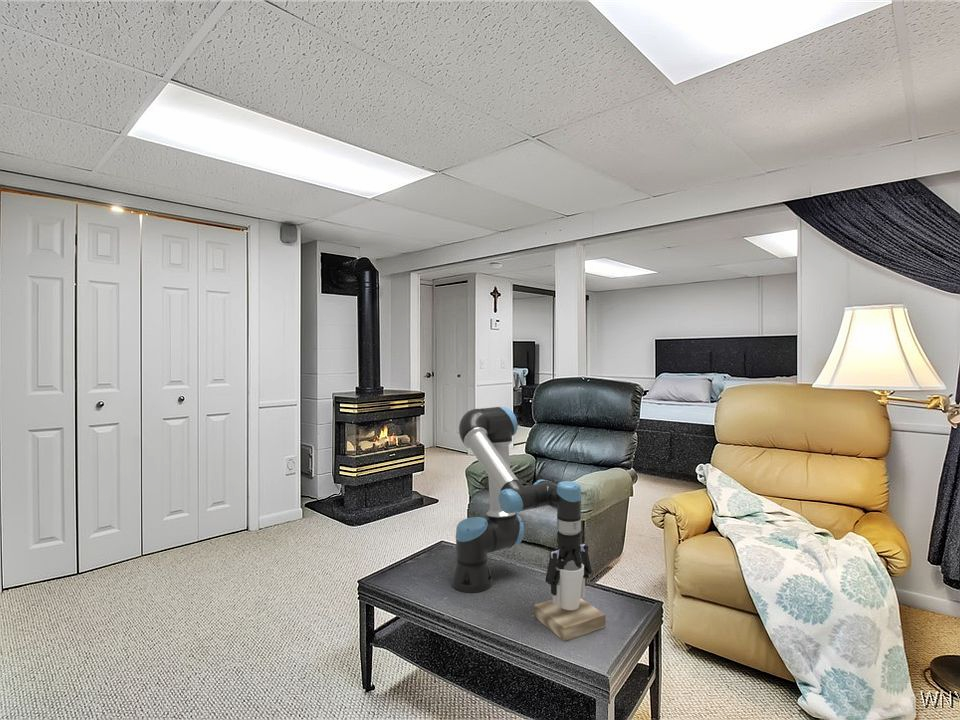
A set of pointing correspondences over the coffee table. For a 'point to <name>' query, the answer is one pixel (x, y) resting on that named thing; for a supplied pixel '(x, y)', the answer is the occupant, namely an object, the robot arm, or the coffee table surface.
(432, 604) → the coffee table surface
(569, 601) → the foam cup
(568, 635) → the wooden base
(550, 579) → the robot arm
